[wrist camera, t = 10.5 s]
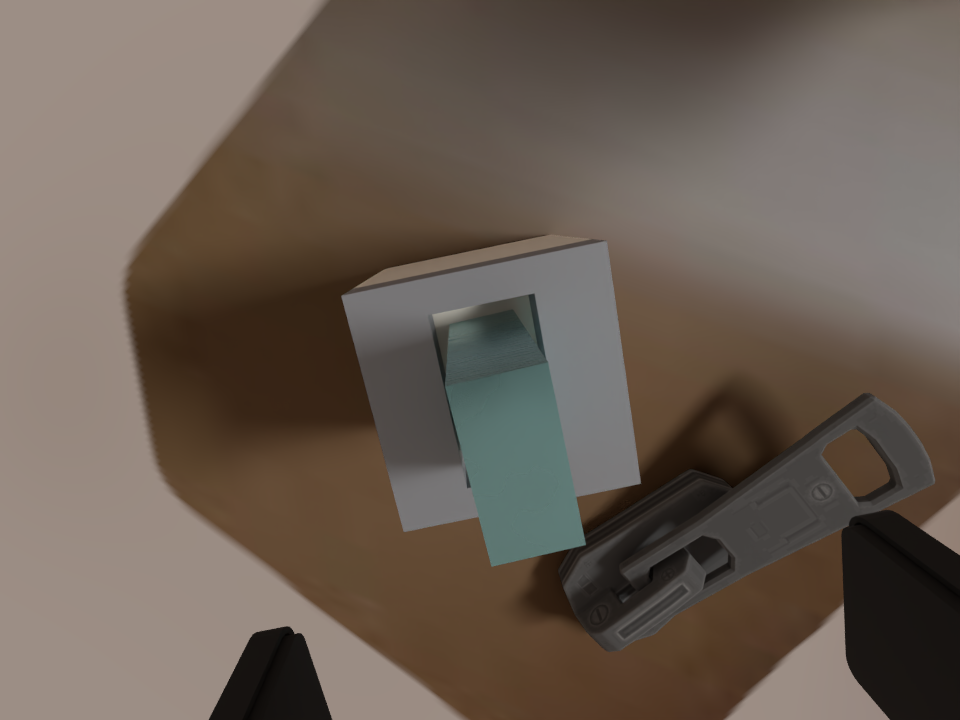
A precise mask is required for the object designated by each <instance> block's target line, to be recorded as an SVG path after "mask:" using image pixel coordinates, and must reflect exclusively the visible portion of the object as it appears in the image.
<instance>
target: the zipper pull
mask: <svg viewBox="0 0 960 720" xmlns="http://www.w3.org/2000/svg"><path fill="white" fill-rule="evenodd" d="M851 429H857V430H858V431H860V432H861V433H862V434H864V435H865V436H866V438H867V439H868V440H869V442H870V443H871V444H872V446H873V447H874V449H875V450H876V451H877V453H878V454H879V455H880V457H881V458H882V459H883V461H884V462H885V463H886V466H887V469H888V472H889V475H890V480H889V482H888V483H887V484H885V485H883V486H881V487H880V488H878V489H876V490H874V491H873V492H871V493H869V494H868V495H866V496H861V497H853V495H852V494H851V493H850V491H849V490H848V489H847V488H846V486H845V485H844V484H843V482H842V481H841V480H840V478H839V477H838V476H837V475H836V473H835V472H834V471H833V469H832V468H831V467H830V465H829V464H828V463H827V462H826V460H825V459H824V458H823V456H822V455H821V454H822V452H823V451H824V449H825V447H826V445H827V444H828V443H830V442H832V441H833V440H835V439H836V438H838V437H840V436H841V435H843V434H845V433H846V432H848V431H849V430H851ZM934 483H935V478H934V474H933V470H932V466H931V462H930V458H929V456H928V454H927V452H926V450H925V449H924V447H923V445H922V443H921V441H920V440H919V438H918V437H917V436H916V434H915V433H914V431H913V430H912V429H911V427H910V426H909V425H908V424H907V422H906V421H905V420H904V419H903V418H902V417H901V416H900V415H899V414H898V413H897V412H896V411H895V410H894V409H892V408H891V407H889V406H888V405H886V404H885V403H884V402H882V401H881V400H879V399H878V398H876V397H875V396H873V395H872V394H870V393H863V394H862V395H860V396H859V397H858V398H856V399H855V400H853V401H852V402H851V403H849V404H848V405H847V406H845V407H844V408H842V409H841V410H840V411H838V412H837V413H835V414H834V415H833V416H831V417H830V418H828V419H827V420H826V421H824V422H823V423H821V424H820V425H819V426H817V427H816V428H815V429H813V430H812V431H811V432H809V433H808V434H807V435H805V436H804V437H803V438H802V439H800V440H799V441H797V442H796V443H795V444H793V445H792V446H791V447H789V448H788V449H786V450H785V451H784V452H782V453H781V454H780V455H778V456H777V457H775V458H774V459H773V460H771V461H770V462H768V463H767V464H766V465H764V466H763V467H762V468H760V469H759V470H757V471H756V472H755V473H753V474H752V475H751V476H749V477H748V478H746V479H745V480H744V481H742V482H741V483H739V484H738V485H737V486H735V487H734V488H732V487H730V486H729V485H728V484H727V483H726V482H725V481H724V480H723V479H721V478H718V477H715V476H712V475H709V474H706V473H703V472H700V471H696V470H693V469H689V470H687V471H685V472H684V473H682V474H680V475H679V476H677V477H676V478H674V479H673V480H671V481H669V482H668V483H666V484H665V485H663V486H662V487H660V488H658V489H657V490H655V491H654V492H652V493H650V494H649V495H647V496H646V497H644V498H643V499H641V500H639V501H638V502H636V503H635V504H633V505H632V506H630V507H628V508H627V509H625V510H624V511H622V512H621V513H619V514H617V515H616V516H614V517H613V518H611V519H610V520H608V521H606V522H605V523H603V524H601V525H600V526H598V527H597V528H595V529H593V530H592V531H590V532H588V533H587V534H585V535H584V538H585V543H586V545H584V546H579V547H575V548H570V550H569V552H568V553H567V555H566V557H565V558H564V560H563V562H562V564H561V565H560V567H559V569H558V572H559V576H560V579H561V582H562V586H563V589H564V591H565V593H566V596H567V598H568V600H569V603H570V605H571V607H572V609H573V612H574V614H575V616H576V617H577V619H578V620H579V622H580V623H581V625H582V626H583V628H584V629H585V631H586V632H587V633H588V634H589V635H590V636H591V637H592V638H593V639H594V640H595V641H596V642H597V643H598V644H599V645H600V646H601V647H602V648H603V649H605V650H606V651H608V652H612V651H620V650H622V649H623V648H625V647H626V646H627V645H629V644H630V643H632V642H633V641H636V640H639V639H642V638H645V637H648V636H651V635H654V634H655V633H657V632H658V631H659V630H660V629H661V628H662V627H663V626H664V625H665V624H666V623H667V622H668V621H670V620H671V619H672V618H673V617H674V616H675V615H677V614H678V613H680V612H682V611H684V610H685V609H687V608H689V607H691V606H693V605H694V604H696V603H698V602H700V601H702V600H703V599H705V598H707V597H709V596H711V595H712V594H714V593H716V592H718V591H720V590H721V589H723V588H725V587H727V586H729V585H730V584H732V583H734V582H736V581H738V580H739V579H741V578H743V577H745V576H746V575H748V574H750V573H752V572H754V571H756V570H759V569H761V568H763V567H765V566H767V565H769V564H771V563H773V562H775V561H777V560H779V559H781V558H783V557H785V556H787V555H789V554H791V553H793V552H795V551H797V550H799V549H801V548H803V547H806V546H808V545H810V544H812V543H814V542H816V541H818V540H820V539H822V538H824V537H826V536H828V535H830V534H832V533H834V532H836V531H838V530H840V529H842V528H844V527H846V526H848V525H849V521H850V520H851V518H852V517H854V516H858V515H863V514H868V513H874V512H878V511H880V510H882V509H884V508H886V507H888V506H890V505H892V504H894V503H896V502H898V501H900V500H902V499H904V498H906V497H909V496H911V495H913V494H915V493H917V492H919V491H921V490H923V489H925V488H927V487H929V486H931V485H933V484H934Z"/></svg>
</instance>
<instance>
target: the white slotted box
mask: <svg viewBox="0 0 960 720" xmlns="http://www.w3.org/2000/svg"><path fill="white" fill-rule="evenodd" d="M341 297H342V300H343V304H344V308H345V312H346V316H347V319H348V323H349V327H350V331H351V334H352V338H353V342H354V346H355V350H356V353H357V357H358V361H359V365H360V368H361V372H362V376H363V380H364V383H365V387H366V391H367V395H368V399H369V402H370V406H371V410H372V414H373V417H374V421H375V425H376V429H377V432H378V436H379V440H380V444H381V448H382V451H383V455H384V459H385V463H386V466H387V470H388V474H389V478H390V481H391V485H392V489H393V493H394V497H395V500H396V504H397V508H398V512H399V515H400V519H401V523H402V527H403V531H404V532H406V531H411V530H416V529H421V528H426V527H431V526H436V525H441V524H446V523H451V522H455V521H460V520H465V519H470V518H475V517H479V516H478V512H477V508H476V504H475V501H474V497H473V493H472V489H471V485H470V481H469V477H468V473H467V470H466V466H465V462H464V458H463V454H462V450H461V446H460V443H459V439H458V435H457V431H456V427H455V423H454V419H453V416H452V412H451V408H450V404H449V400H448V396H447V392H446V389H445V379H446V365H447V351H448V337H449V324H452V323H457V322H461V321H465V320H469V319H474V318H478V317H482V316H486V315H491V314H495V313H499V312H503V311H507V310H512V309H513V310H514V312H515V313H516V315H517V316H518V318H519V319H520V321H521V322H522V324H523V325H524V327H525V328H526V330H527V331H528V333H529V334H530V336H531V337H532V339H533V340H534V342H535V343H536V345H537V346H538V348H539V349H540V351H541V352H542V354H543V355H544V357H545V358H546V360H547V361H548V364H549V369H550V374H551V379H552V383H553V388H554V393H555V398H556V403H557V408H558V412H559V417H560V422H561V427H562V432H563V437H564V441H565V446H566V451H567V456H568V461H569V466H570V470H571V475H572V480H573V485H574V490H575V494H576V497H578V496H583V495H588V494H593V493H598V492H603V491H608V490H613V489H618V488H622V487H627V486H632V485H637V484H641V481H640V474H639V467H638V459H637V452H636V445H635V438H634V431H633V424H632V417H631V409H630V402H629V395H628V388H627V381H626V374H625V367H624V360H623V352H622V345H621V338H620V331H619V324H618V317H617V310H616V303H615V295H614V288H613V281H612V274H611V267H610V260H609V253H608V246H607V241H604V240H595V239H585V238H576V237H567V236H557V235H546V236H541V237H536V238H531V239H526V240H522V241H517V242H512V243H507V244H502V245H498V246H493V247H488V248H483V249H478V250H473V251H469V252H464V253H459V254H454V255H449V256H445V257H440V258H435V259H430V260H425V261H420V262H416V263H411V264H406V265H401V266H396V267H391V268H387V269H384V270H382V271H381V272H379V273H377V274H376V275H374V276H373V277H371V278H369V279H368V280H366V281H364V282H363V283H361V284H360V285H358V286H356V287H355V288H353V289H352V290H350V291H348V292H347V293H345V294H343V295H342V296H341Z"/></svg>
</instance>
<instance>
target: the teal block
mask: <svg viewBox="0 0 960 720" xmlns="http://www.w3.org/2000/svg"><path fill="white" fill-rule="evenodd" d="M445 389H446V392H447V396H448V400H449V404H450V408H451V412H452V416H453V419H454V423H455V427H456V431H457V435H458V439H459V443H460V446H461V450H462V454H463V458H464V462H465V466H466V470H467V473H468V477H469V481H470V485H471V489H472V493H473V497H474V501H475V504H476V508H477V512H478V516H479V520H480V524H481V528H482V531H483V535H484V539H485V543H486V547H487V551H488V555H489V558H490V562H491V566H496V565H501V564H505V563H509V562H514V561H518V560H522V559H527V558H531V557H536V556H540V555H544V554H549V553H553V552H557V551H562V550H566V549H570V548H575V547H579V546H584V545H586V543H585V538H584V533H583V528H582V523H581V519H580V514H579V509H578V504H577V499H576V494H575V490H574V485H573V480H572V475H571V470H570V466H569V461H568V456H567V451H566V446H565V441H564V437H563V432H562V427H561V422H560V417H559V412H558V408H557V403H556V398H555V393H554V388H553V383H552V379H551V374H550V369H549V364H548V361H547V360H546V358H545V357H544V355H543V354H542V352H541V351H540V349H539V348H538V346H537V345H536V343H535V342H534V340H533V339H532V337H531V336H530V334H529V333H528V331H527V330H526V328H525V327H524V325H523V324H522V322H521V321H520V319H519V318H518V316H517V315H516V313H515V312H514V310H513V309H512V310H507V311H503V312H499V313H495V314H491V315H486V316H482V317H478V318H474V319H469V320H465V321H461V322H457V323H452V324H449V337H448V351H447V365H446V379H445Z"/></svg>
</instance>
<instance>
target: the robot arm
mask: <svg viewBox="0 0 960 720" xmlns="http://www.w3.org/2000/svg"><path fill="white" fill-rule="evenodd" d="M842 563H843V590H844V618H845V645H846V659H847V663H848V666H849V668H850V670H851V672H852V674H853V676H854V677H855V679H856V680H857V681H858V683H859V684H860V685H861V686H862V687H863V689H864V690H865V691H866V692H867V693H868V694H869V696H870V697H871V698H872V699H873V700H874V701H875V703H876V704H877V705H878V706H879V707H880V709H881V710H882V711H883V712H884V713H885V714H886V715H887V717H888V718H889V719H890V720H960V555H958V554H957V553H955V552H954V551H952V550H951V549H949V548H948V547H946V546H945V545H944V544H942V543H940V542H939V541H938V540H936V539H934V538H933V537H931V536H930V535H929V534H927V533H926V532H924V531H923V530H921V529H920V528H918V527H917V526H915V525H914V524H912V523H911V522H909V521H908V520H907V519H905V518H904V517H902V516H901V515H899V514H898V513H896V512H894V511H891V510H884V511H879V512H874V513H868V514H863V515H858V516H854V517H852V518H851V520H850V521H849V527H846V528H844V529H843V531H842ZM209 720H332V718H331V715H330V712H329V709H328V706H327V703H326V700H325V697H324V694H323V691H322V688H321V685H320V682H319V679H318V676H317V673H316V670H315V668H314V665H313V662H312V659H311V656H310V653H309V650H308V647H307V644H306V641H305V638H304V636H303V635H302V634H301V633H297V634H294V632H293V630H292V629H291V628H290V627H281V628H276V629H271V630H265V631H260V632H256V633H254V634H253V635H252V637H251V638H250V640H249V642H248V644H247V646H246V647H245V650H244V651H243V653H242V655H241V657H240V659H239V661H238V663H237V665H236V667H235V669H234V671H233V673H232V675H231V677H230V679H229V681H228V683H227V685H226V687H225V689H224V691H223V693H222V695H221V697H220V699H219V701H218V703H217V705H216V707H215V708H214V710H213V712H212V715H211V716H210V718H209Z"/></svg>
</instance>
